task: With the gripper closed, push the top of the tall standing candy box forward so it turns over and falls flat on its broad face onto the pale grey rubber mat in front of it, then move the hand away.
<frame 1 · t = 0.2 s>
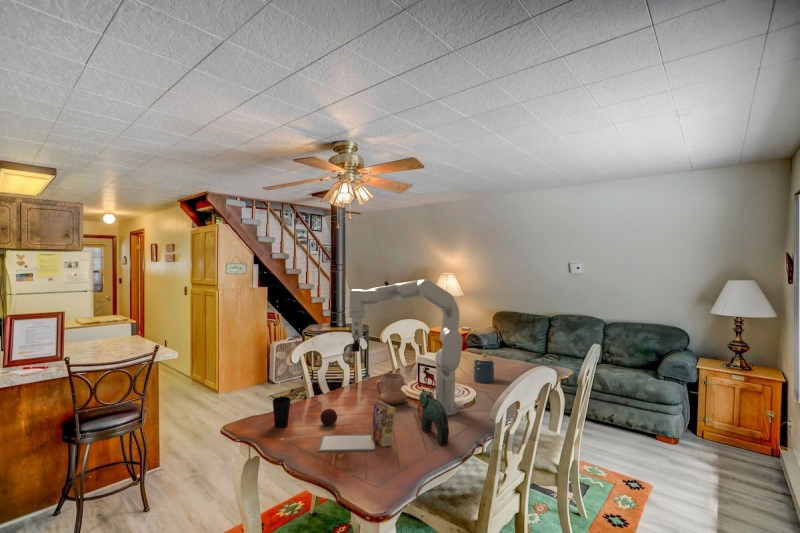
hand: (356, 349, 193), 31 cm above the table, tool pointing down, fingers open, 9 cm apart
dark maroon ball: (328, 425, 178), on the table
ceramic jug: (391, 402, 209), on the table
canister: (483, 381, 251), on the table
cup: (281, 426, 175), on the table
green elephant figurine: (434, 436, 168), on the table
candy box: (380, 442, 161), on the table, touching mat
mat: (347, 443, 160), on the table
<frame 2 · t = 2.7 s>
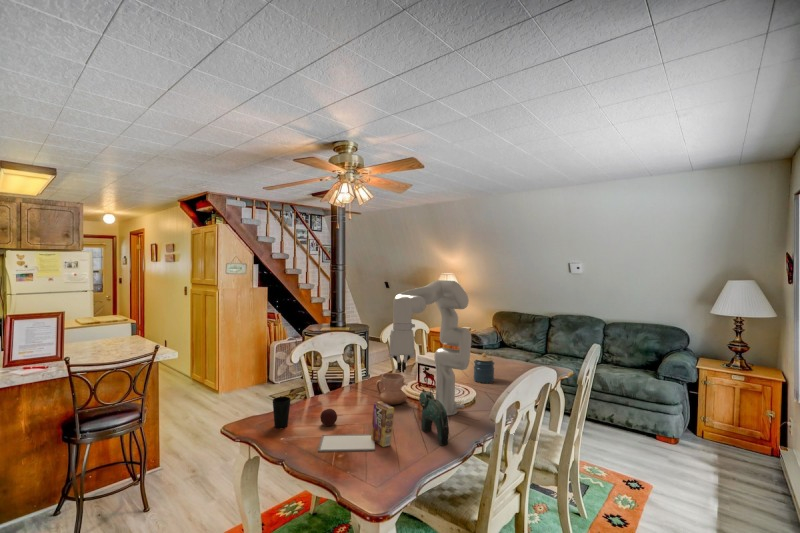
hand: (401, 371, 161), 29 cm above the table, tool pointing down, fingers closed
nothing on the table moved.
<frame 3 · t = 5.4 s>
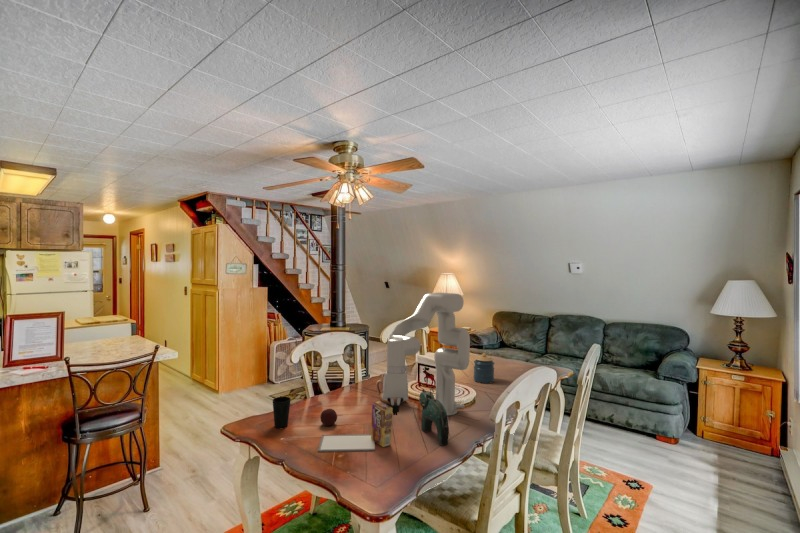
hand: (395, 413, 161), 12 cm above the table, tool pointing down, fingers closed
candy box: (380, 442, 161), on the table, touching mat
everything else where it was.
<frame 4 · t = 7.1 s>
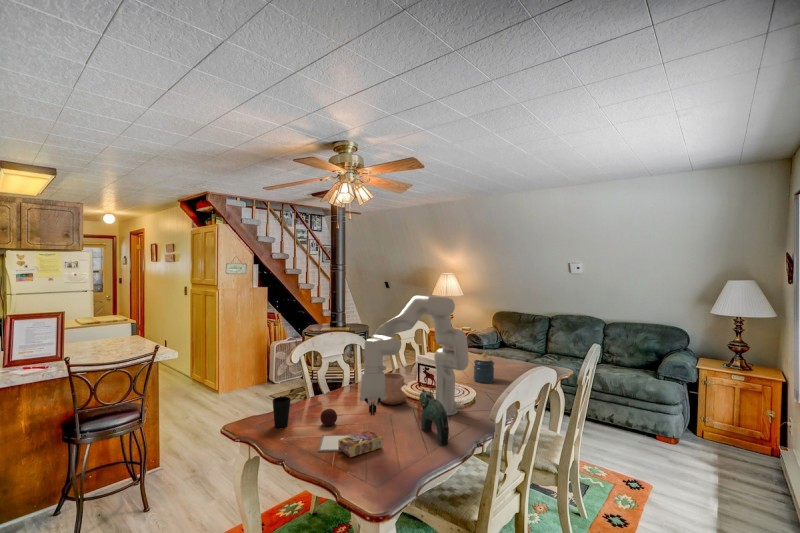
hand: (372, 414, 160), 12 cm above the table, tool pointing down, fingers closed
candy box: (376, 437, 159), point 3 cm above the table, touching mat
everything else where it was.
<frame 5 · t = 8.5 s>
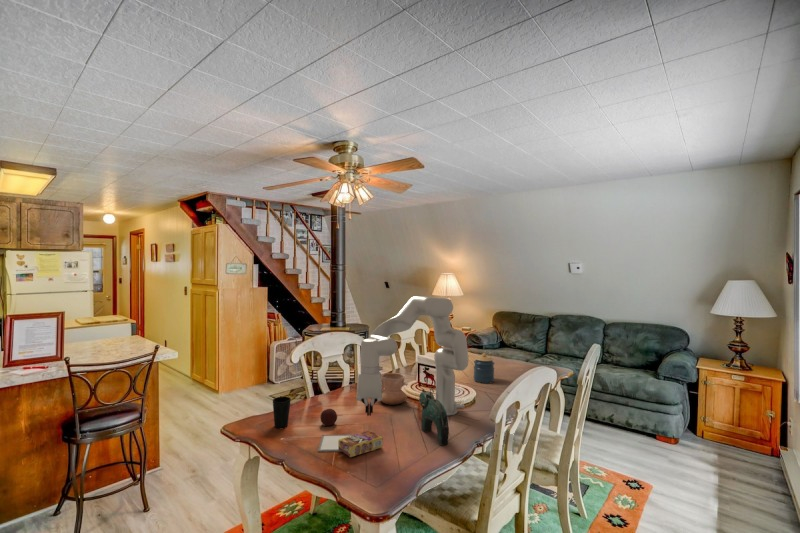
hand: (369, 414, 160), 12 cm above the table, tool pointing down, fingers closed
nothing on the table moved.
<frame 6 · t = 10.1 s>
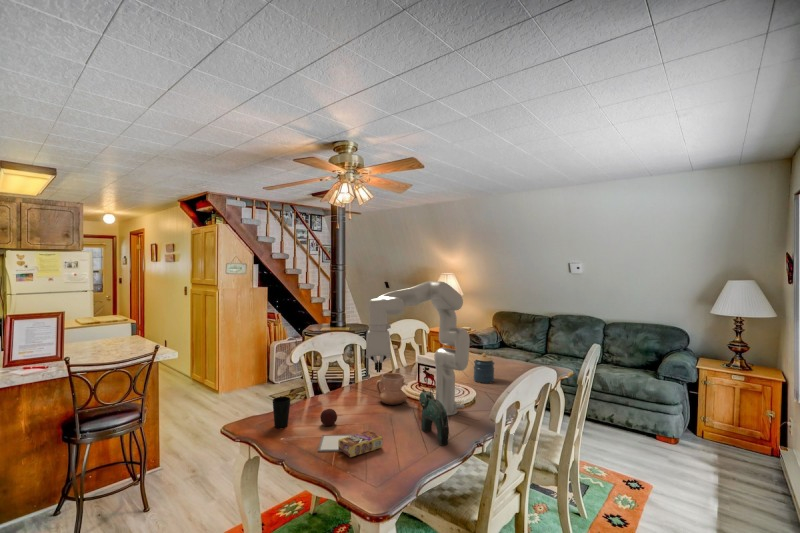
hand: (378, 371, 165), 28 cm above the table, tool pointing down, fingers closed
nothing on the table moved.
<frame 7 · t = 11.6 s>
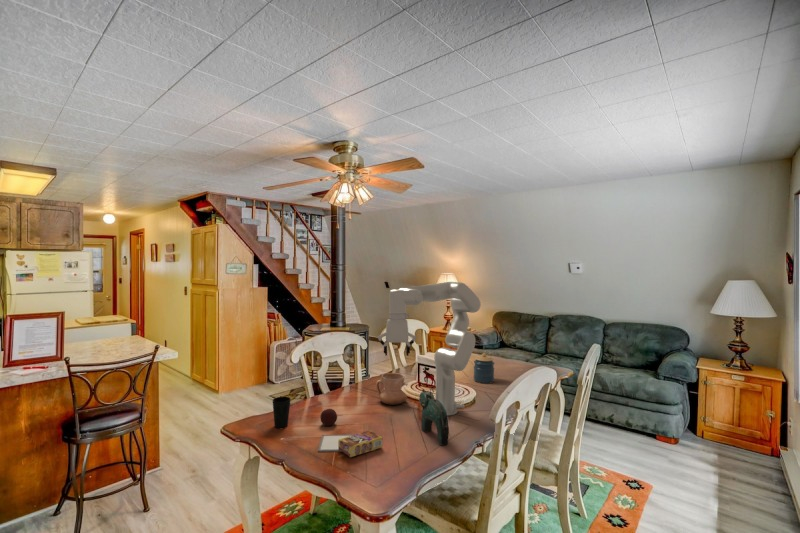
hand: (396, 354, 177), 32 cm above the table, tool pointing down, fingers open, 9 cm apart
nothing on the table moved.
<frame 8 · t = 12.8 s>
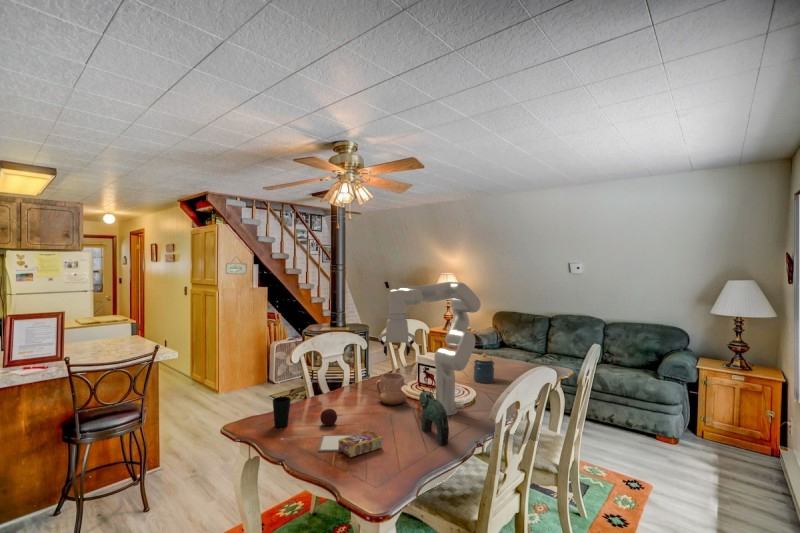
hand: (396, 354, 177), 32 cm above the table, tool pointing down, fingers open, 9 cm apart
nothing on the table moved.
at the end: candy box tilted 90°; candy box inside the target area (10.0 cm from its centre), point 2.6 cm above the table; the gripper is holding nothing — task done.
